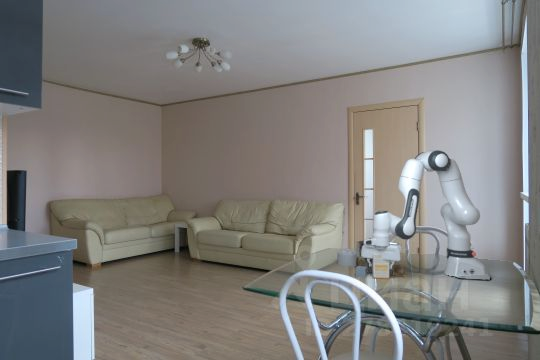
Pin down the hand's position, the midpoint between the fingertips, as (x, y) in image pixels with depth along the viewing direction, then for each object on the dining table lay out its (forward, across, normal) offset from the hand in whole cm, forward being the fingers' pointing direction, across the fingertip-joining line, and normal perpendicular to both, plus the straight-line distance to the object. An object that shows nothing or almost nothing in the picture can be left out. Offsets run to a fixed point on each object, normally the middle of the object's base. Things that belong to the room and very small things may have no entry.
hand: (380, 267), depth 200 cm
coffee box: (+6, +10, -12) cm, 17 cm away
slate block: (+6, +10, +2) cm, 11 cm away
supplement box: (+6, 0, 0) cm, 6 cm away
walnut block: (+5, -8, -9) cm, 14 cm away
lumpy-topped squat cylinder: (+6, +22, -22) cm, 32 cm away
